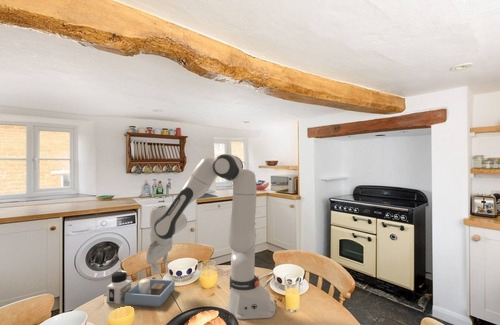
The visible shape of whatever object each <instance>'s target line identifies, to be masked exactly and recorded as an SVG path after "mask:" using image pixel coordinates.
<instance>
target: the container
mask: <svg viewBox="0 0 500 325" xmlns="http://www.w3.org/2000/svg"><path fill="white" fill-rule="evenodd" d="M127 275H128V273H127V271H126V270H117V271H115V272H113V273H112V274H111V283H110V284H108V285H107V286H106V303H111V304H116V305H120V304H122V303H123V302H125V293H127V292H128V291H129V290H130V289H131V288H132V280H128V276H127Z"/></svg>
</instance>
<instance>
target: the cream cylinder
mask: <svg viewBox="0 0 500 325" xmlns="http://www.w3.org/2000/svg"><path fill="white" fill-rule="evenodd" d="M150 279H151V278H144V279H143V278H141V279H140V280H139V281H138V282H139V294H146V295H150Z"/></svg>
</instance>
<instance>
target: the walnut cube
mask: <svg viewBox="0 0 500 325" xmlns="http://www.w3.org/2000/svg"><path fill="white" fill-rule="evenodd" d="M164 290H165V284H160V283H155V284H154V285H153V286H152V287H151V288H150V295H160V294H161V293H162V292H163V291H164Z"/></svg>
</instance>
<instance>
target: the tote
mask: <svg viewBox="0 0 500 325" xmlns="http://www.w3.org/2000/svg"><path fill="white" fill-rule="evenodd" d="M142 279H145V278H142ZM149 279H150V288H151V287H152V286H153V285H154V284H155V283H160V284H165V290H164V291H163V292H162V293H161V294H160V295H146V294H139V281H137V283H136V284H134V285H133V286H131V289H130V290H129V291H128V292H127V293H125V301H124V305H127V306H136V307H137V306H138V307H152V308H161V307H162V306H163V304H164V303H166V301H167V300H168V299H169V298H170V297H171V295H172V294H173V292H174V291H175V289H176V288H175V285H176V283H175V280H171V279H161V278H159V279H157V278H149Z"/></svg>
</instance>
